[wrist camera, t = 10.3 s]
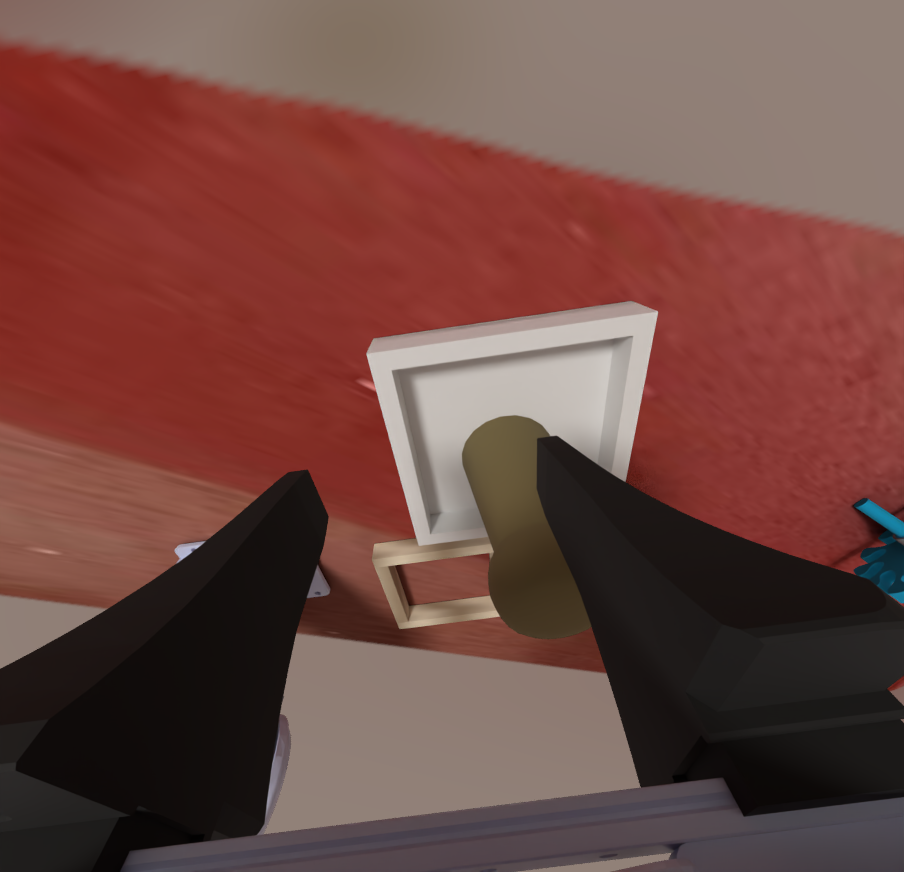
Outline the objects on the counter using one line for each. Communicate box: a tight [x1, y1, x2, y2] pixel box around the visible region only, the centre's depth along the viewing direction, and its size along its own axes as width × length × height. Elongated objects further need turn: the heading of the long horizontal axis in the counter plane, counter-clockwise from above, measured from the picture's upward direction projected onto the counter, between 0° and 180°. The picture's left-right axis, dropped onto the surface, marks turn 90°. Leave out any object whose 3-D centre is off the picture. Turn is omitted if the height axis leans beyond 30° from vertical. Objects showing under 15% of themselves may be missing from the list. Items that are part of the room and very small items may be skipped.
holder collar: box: [372, 537, 499, 629], centre depth 29 cm, size 10×10×2 cm
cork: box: [462, 415, 592, 639], centre depth 18 cm, size 6×6×11 cm
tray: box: [367, 301, 658, 546], centre depth 21 cm, size 14×14×2 cm
